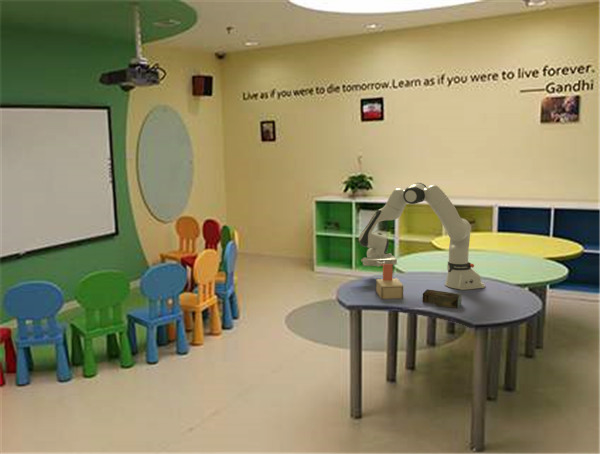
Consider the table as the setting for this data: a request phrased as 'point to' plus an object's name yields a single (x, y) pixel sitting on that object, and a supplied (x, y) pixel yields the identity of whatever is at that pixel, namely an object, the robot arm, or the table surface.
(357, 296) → the table surface
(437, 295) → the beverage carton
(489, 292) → the table surface
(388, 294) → the mailer box
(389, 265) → the lid
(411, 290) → the table surface
